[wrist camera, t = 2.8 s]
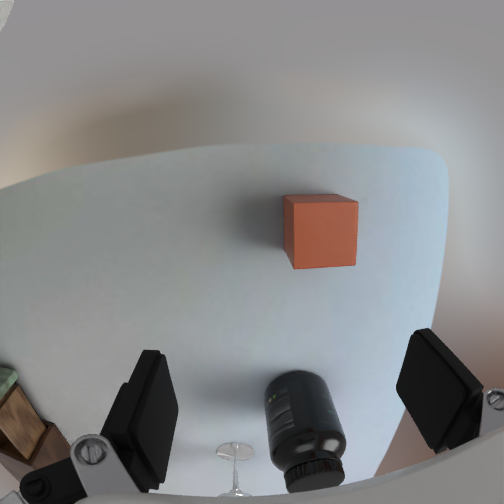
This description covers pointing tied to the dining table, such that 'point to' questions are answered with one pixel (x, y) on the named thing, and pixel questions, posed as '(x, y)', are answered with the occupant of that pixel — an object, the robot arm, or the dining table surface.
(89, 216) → the dining table surface
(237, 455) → the wineglass
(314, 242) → the block
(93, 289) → the dining table surface
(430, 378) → the robot arm
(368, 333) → the dining table surface
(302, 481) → the supplement bottle
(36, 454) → the cabinet
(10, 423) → the drawer
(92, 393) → the dining table surface
